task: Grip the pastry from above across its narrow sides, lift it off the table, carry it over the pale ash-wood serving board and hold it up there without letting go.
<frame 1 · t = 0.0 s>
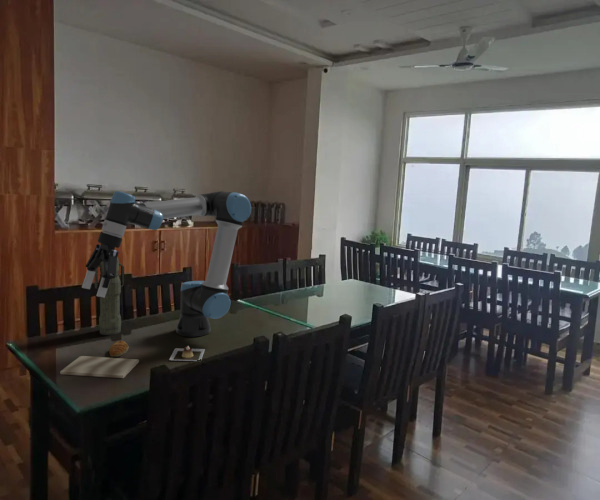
hand: (92, 292, 160), 28 cm above the table, tool tilted 20°, fingers open, 13 cm apart
thermos: (110, 332, 202), on the table
serving board: (101, 367, 165), on the table
pastry: (118, 353, 180), on the table
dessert: (187, 357, 180), on the table
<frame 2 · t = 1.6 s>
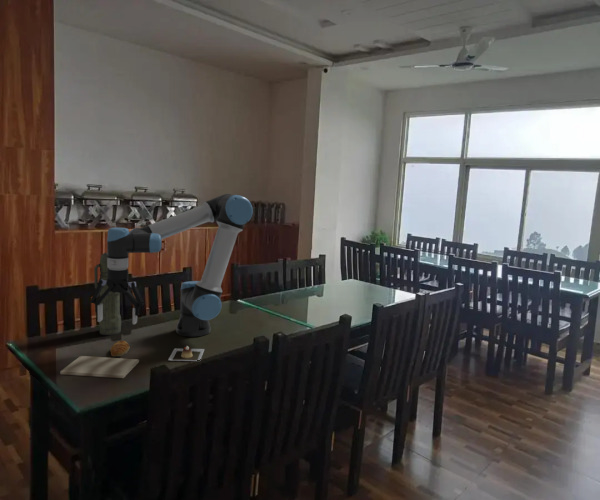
hand: (117, 322, 178), 12 cm above the table, tool pointing down, fingers open, 13 cm apart
nothing on the table moved.
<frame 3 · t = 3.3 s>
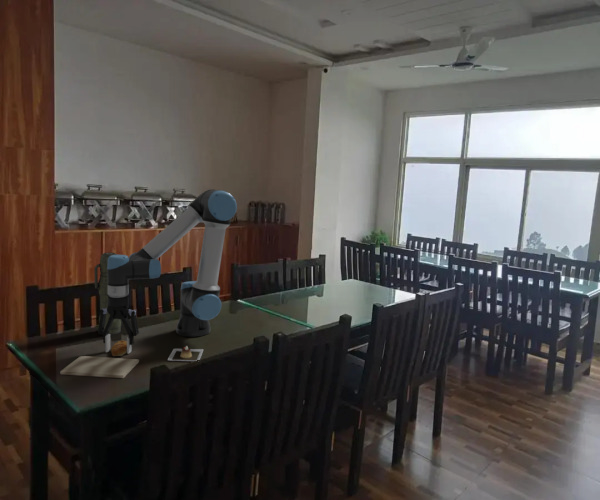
hand: (118, 351, 180), 0 cm above the table, tool pointing down, fingers open, 8 cm apart
pastry: (120, 353, 180), on the table, touching gripper
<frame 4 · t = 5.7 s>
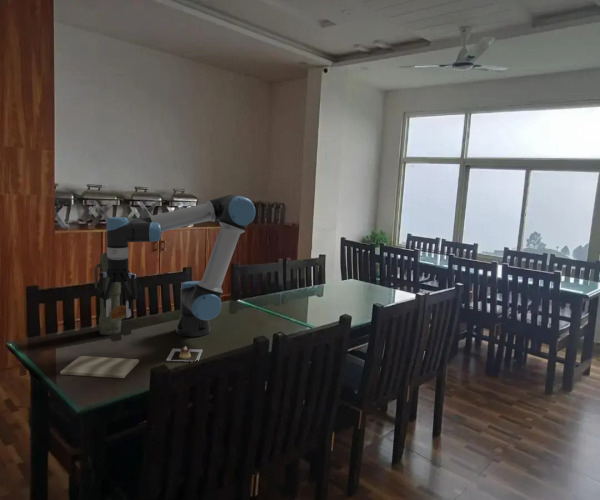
hand: (118, 316, 177), 15 cm above the table, tool pointing down, fingers closed on pastry, 7 cm apart
pastry: (120, 317, 178), point 14 cm above the table, touching gripper
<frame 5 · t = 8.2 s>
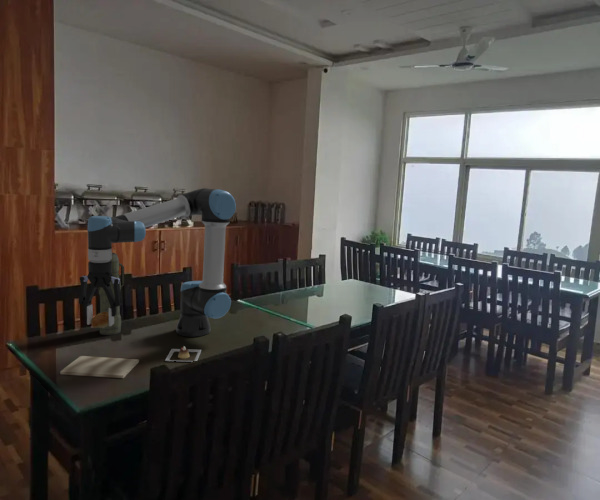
hand: (100, 324, 163), 16 cm above the table, tool pointing down, fingers closed on pastry, 7 cm apart
pastry: (102, 325, 163), point 16 cm above the table, touching gripper
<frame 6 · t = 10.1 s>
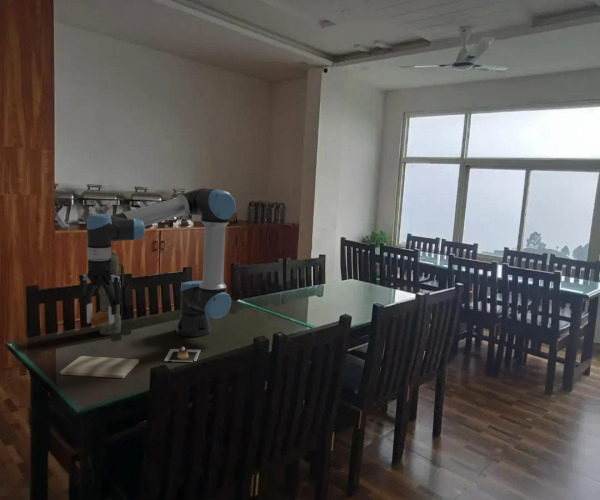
hand: (100, 322, 162), 17 cm above the table, tool pointing down, fingers closed on pastry, 7 cm apart
pastry: (102, 323, 163), point 16 cm above the table, touching gripper
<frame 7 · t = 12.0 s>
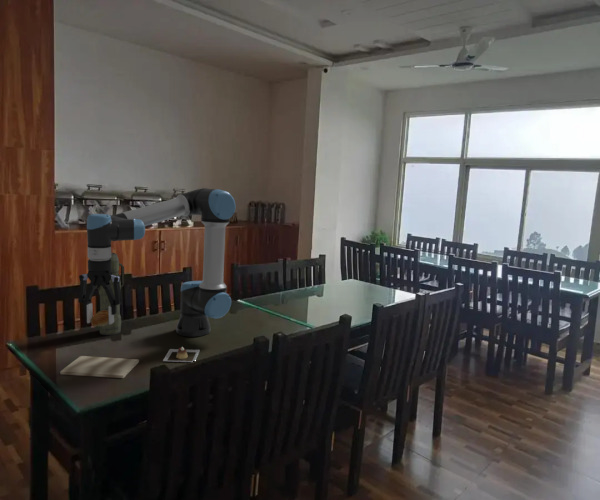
hand: (100, 322, 162), 17 cm above the table, tool pointing down, fingers closed on pastry, 7 cm apart
pastry: (102, 323, 163), point 16 cm above the table, touching gripper
at the end: the gripper is holding pastry; pastry point 16.4 cm above the table; pastry inside the target area on the serving board (0.7 cm from its centre), point 16.4 cm above the serving board's base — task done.
